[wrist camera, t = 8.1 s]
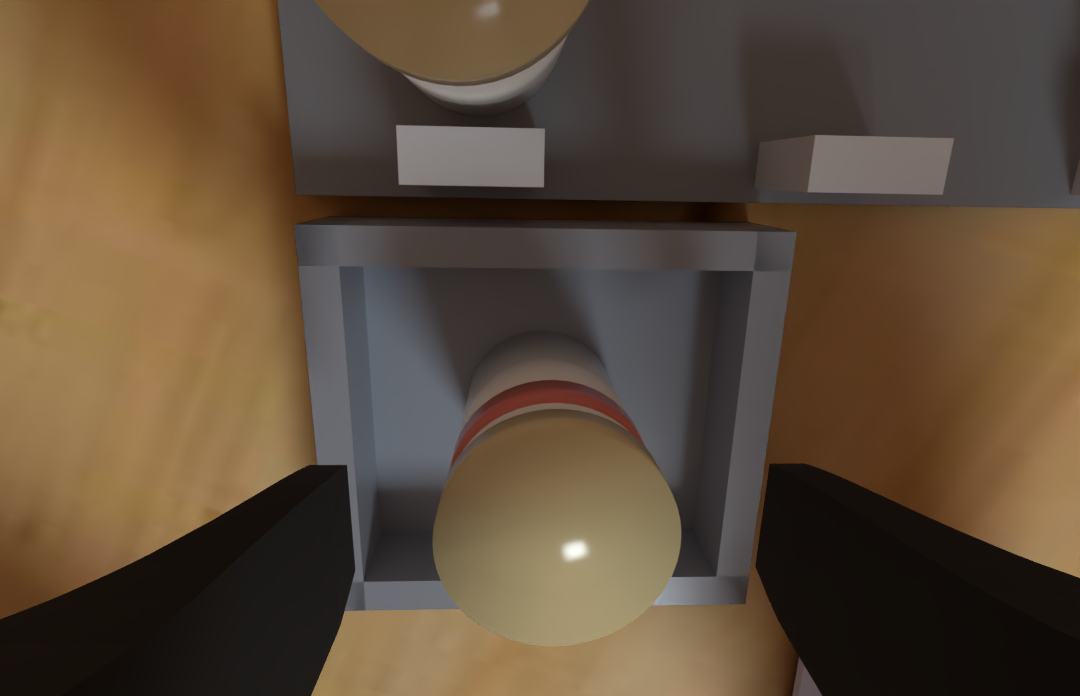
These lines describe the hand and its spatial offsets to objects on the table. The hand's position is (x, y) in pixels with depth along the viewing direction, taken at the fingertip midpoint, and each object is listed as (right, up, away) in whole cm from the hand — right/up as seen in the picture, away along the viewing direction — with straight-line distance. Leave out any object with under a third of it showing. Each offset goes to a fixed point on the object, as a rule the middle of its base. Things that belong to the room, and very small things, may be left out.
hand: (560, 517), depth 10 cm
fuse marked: (0, +2, +5) cm, 5 cm away
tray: (0, +2, +5) cm, 6 cm away
